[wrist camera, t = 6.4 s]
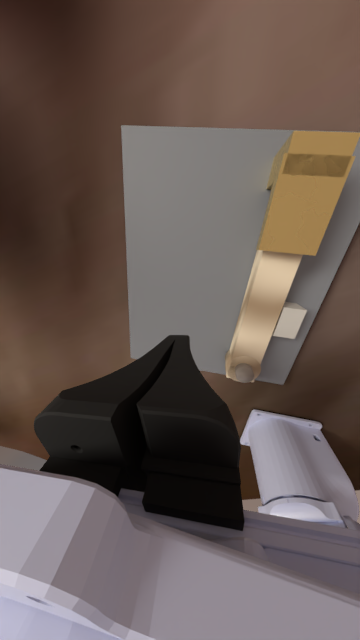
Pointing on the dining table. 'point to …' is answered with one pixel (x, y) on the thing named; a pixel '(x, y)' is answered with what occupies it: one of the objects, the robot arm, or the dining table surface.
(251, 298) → the link
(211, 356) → the base plate
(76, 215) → the dining table surface
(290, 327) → the block
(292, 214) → the keeper
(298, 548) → the robot arm
